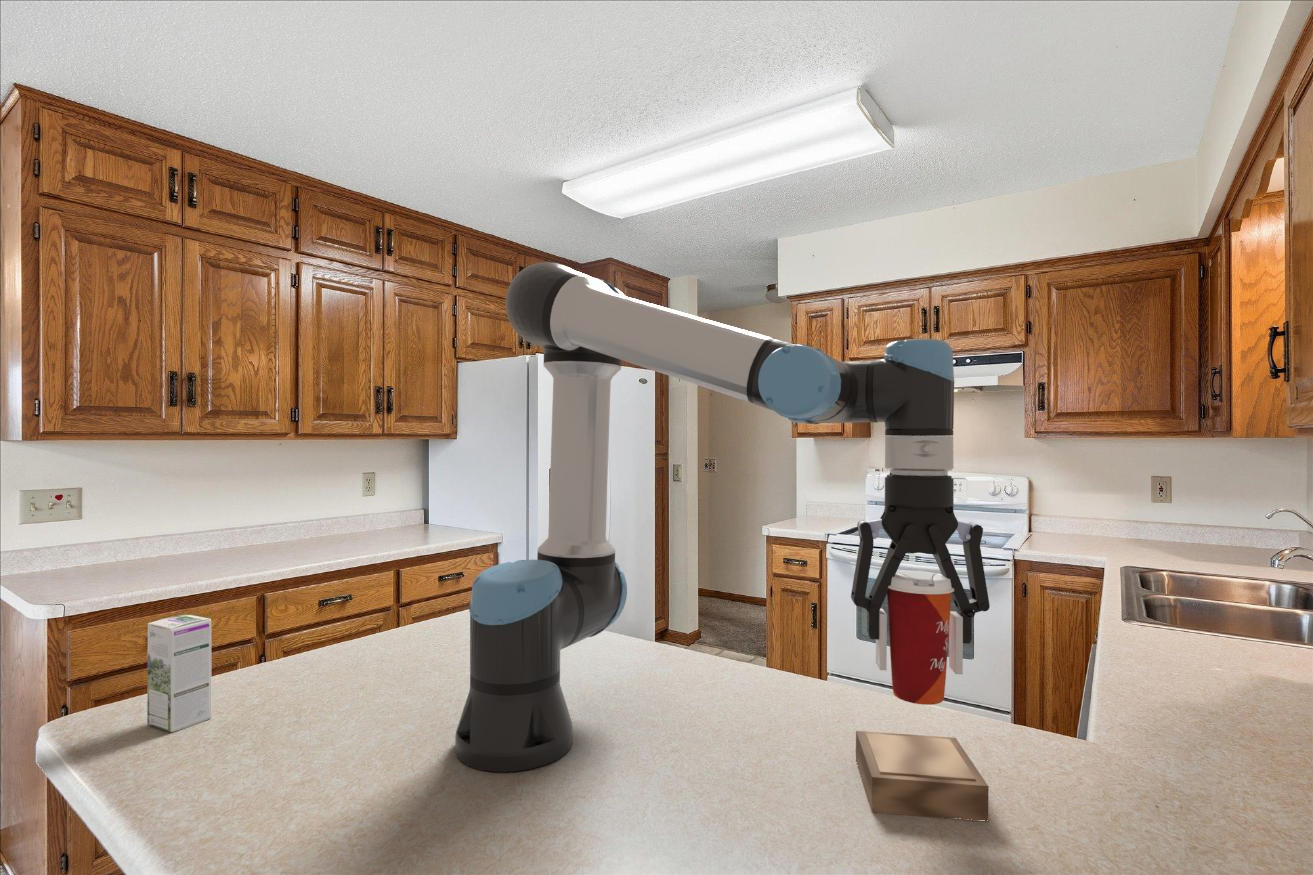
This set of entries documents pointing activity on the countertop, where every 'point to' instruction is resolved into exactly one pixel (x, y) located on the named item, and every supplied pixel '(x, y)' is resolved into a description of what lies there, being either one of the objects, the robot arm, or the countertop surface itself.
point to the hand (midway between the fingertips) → (918, 668)
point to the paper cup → (919, 635)
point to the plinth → (920, 776)
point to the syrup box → (179, 672)
